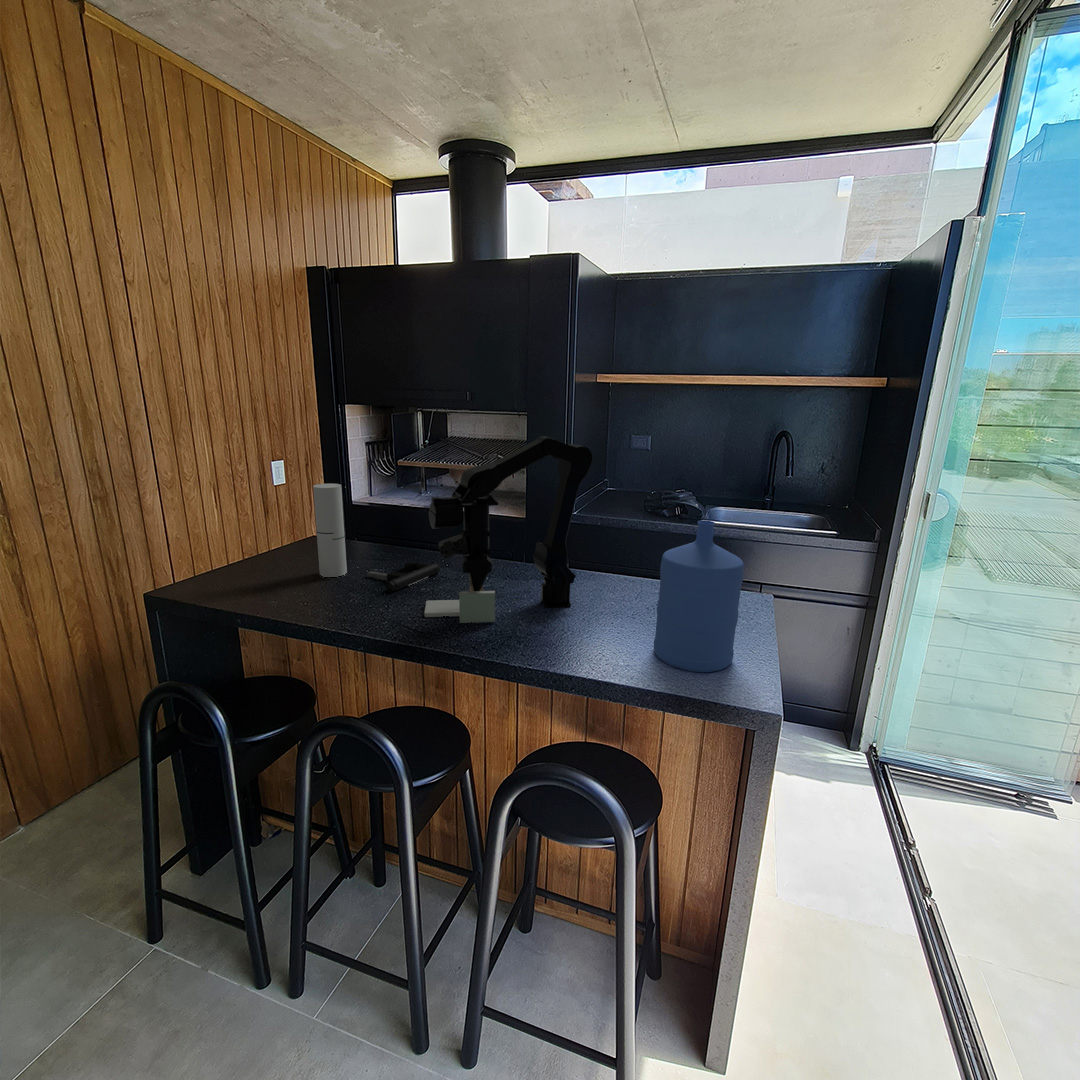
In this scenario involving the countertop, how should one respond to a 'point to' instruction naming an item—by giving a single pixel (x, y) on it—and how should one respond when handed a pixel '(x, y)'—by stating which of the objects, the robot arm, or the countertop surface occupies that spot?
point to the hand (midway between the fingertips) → (476, 590)
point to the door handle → (406, 575)
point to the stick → (472, 585)
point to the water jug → (698, 604)
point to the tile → (477, 606)
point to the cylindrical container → (330, 529)
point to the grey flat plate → (442, 608)
